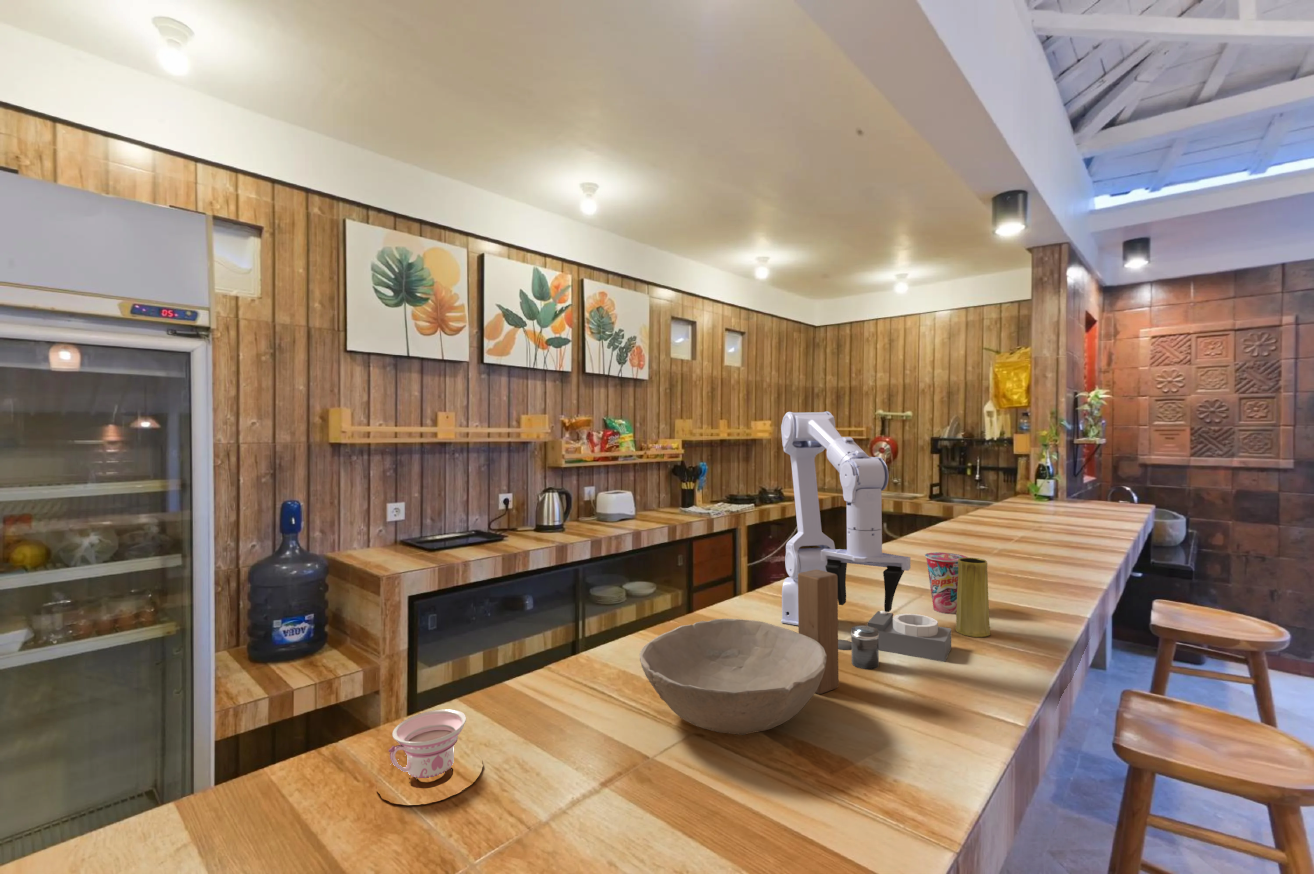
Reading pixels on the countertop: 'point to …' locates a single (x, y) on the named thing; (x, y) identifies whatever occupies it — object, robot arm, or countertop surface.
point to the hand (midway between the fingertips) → (864, 606)
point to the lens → (865, 647)
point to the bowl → (734, 673)
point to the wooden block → (820, 619)
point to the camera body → (912, 635)
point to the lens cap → (844, 645)
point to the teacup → (428, 742)
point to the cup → (943, 580)
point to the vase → (972, 598)
